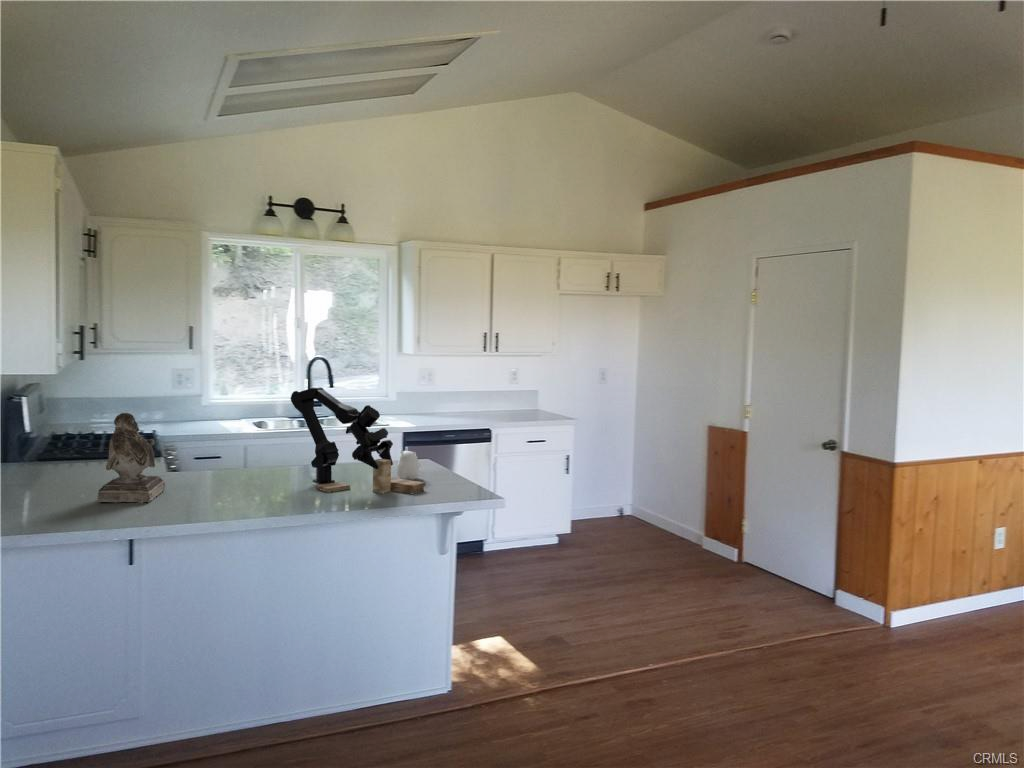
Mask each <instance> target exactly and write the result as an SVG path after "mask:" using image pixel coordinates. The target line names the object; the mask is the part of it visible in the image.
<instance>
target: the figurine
mask: <svg viewBox="0 0 1024 768" xmlns="http://www.w3.org/2000/svg"><path fill="white" fill-rule="evenodd" d="M421 466H422V462H420V461H419V460H418V456H417V453H416V451H412V450H411V451H410V450H401V451H400V456H399V459H398V463H397V465H396V476H397V477H398V479H405V480H411V481H415V480H416V479H418V478H419V477H420V476H421V474H422V470H421V469H420V467H421Z"/></svg>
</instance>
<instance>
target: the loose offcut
mask: <svg viewBox="0 0 1024 768" xmlns="http://www.w3.org/2000/svg"><path fill="white" fill-rule="evenodd" d="M316 488H318V489H321V490H323V491H322V492H324V491H326V492H328V493H330V492H329V491H334V492H338V491H337V490H341V491H346V490H345V489H347V490H350V489H351V484H348V483H345V482H341V481H336V482H328V483H321V484H317V485H316ZM318 489H317V490H318ZM321 490H320V491H321ZM326 492H325V493H326Z"/></svg>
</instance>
